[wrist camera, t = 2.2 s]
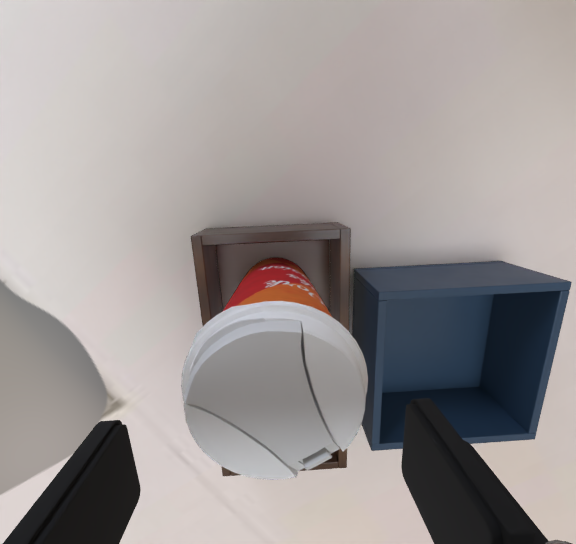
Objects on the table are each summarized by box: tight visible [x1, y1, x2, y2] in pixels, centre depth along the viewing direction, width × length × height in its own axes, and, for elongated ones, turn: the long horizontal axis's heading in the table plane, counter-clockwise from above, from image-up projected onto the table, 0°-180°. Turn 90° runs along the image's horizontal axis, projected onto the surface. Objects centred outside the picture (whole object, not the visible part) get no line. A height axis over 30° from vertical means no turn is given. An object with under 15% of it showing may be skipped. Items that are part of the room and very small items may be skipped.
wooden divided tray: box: [191, 222, 351, 476], centre depth 23 cm, size 20×11×4 cm, turn 2°
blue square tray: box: [353, 261, 571, 451], centre depth 23 cm, size 13×13×6 cm
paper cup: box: [181, 258, 368, 480], centre depth 17 cm, size 8×8×14 cm
